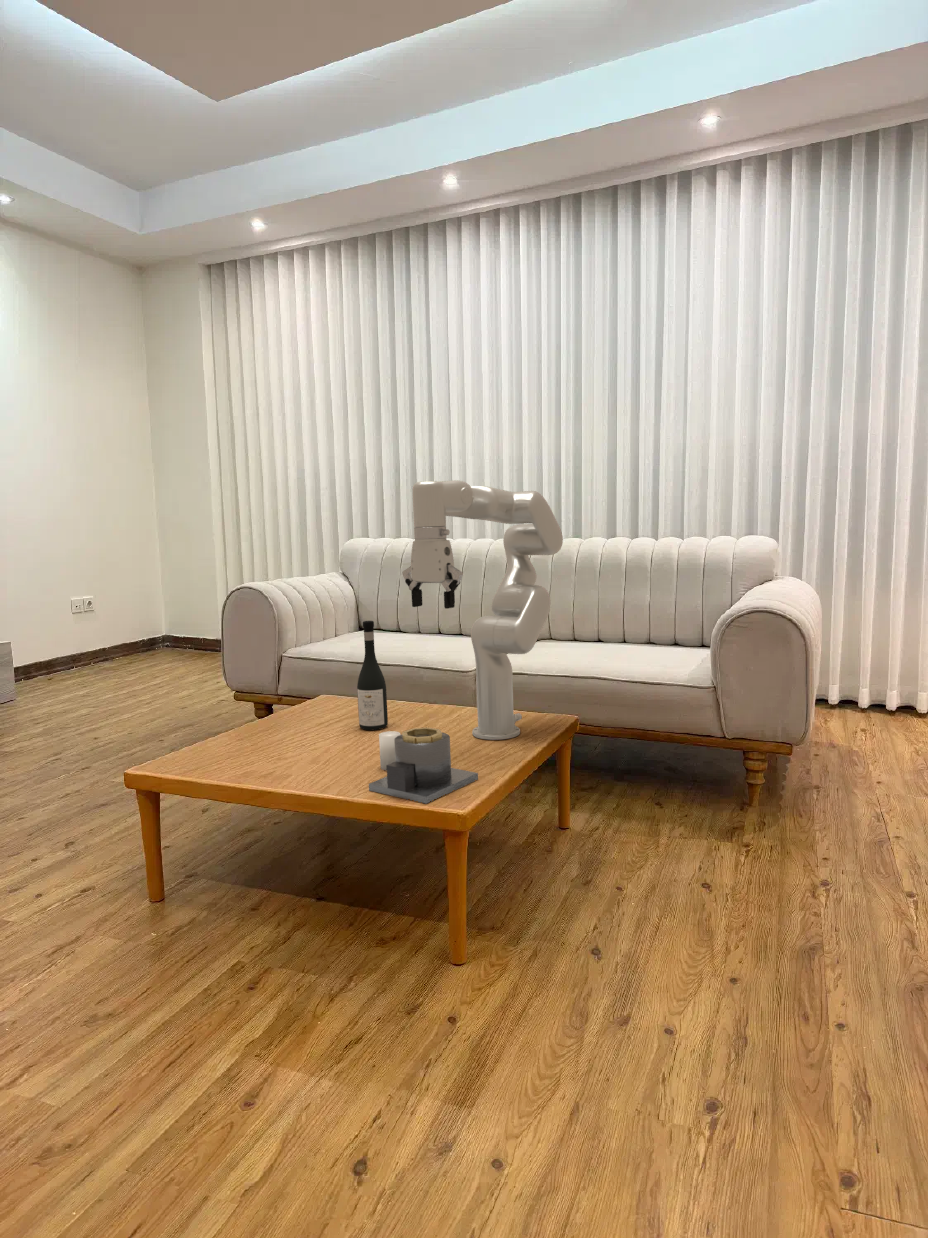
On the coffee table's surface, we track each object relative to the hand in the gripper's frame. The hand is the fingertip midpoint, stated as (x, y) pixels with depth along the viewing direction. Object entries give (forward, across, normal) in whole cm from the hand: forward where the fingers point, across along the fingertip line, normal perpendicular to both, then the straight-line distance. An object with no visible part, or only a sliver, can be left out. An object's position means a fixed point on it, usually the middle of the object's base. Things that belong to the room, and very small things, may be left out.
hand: (433, 607), depth 198 cm
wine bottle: (+37, +34, -14) cm, 52 cm away
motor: (+37, -10, +18) cm, 42 cm away
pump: (+37, +5, +12) cm, 39 cm away
